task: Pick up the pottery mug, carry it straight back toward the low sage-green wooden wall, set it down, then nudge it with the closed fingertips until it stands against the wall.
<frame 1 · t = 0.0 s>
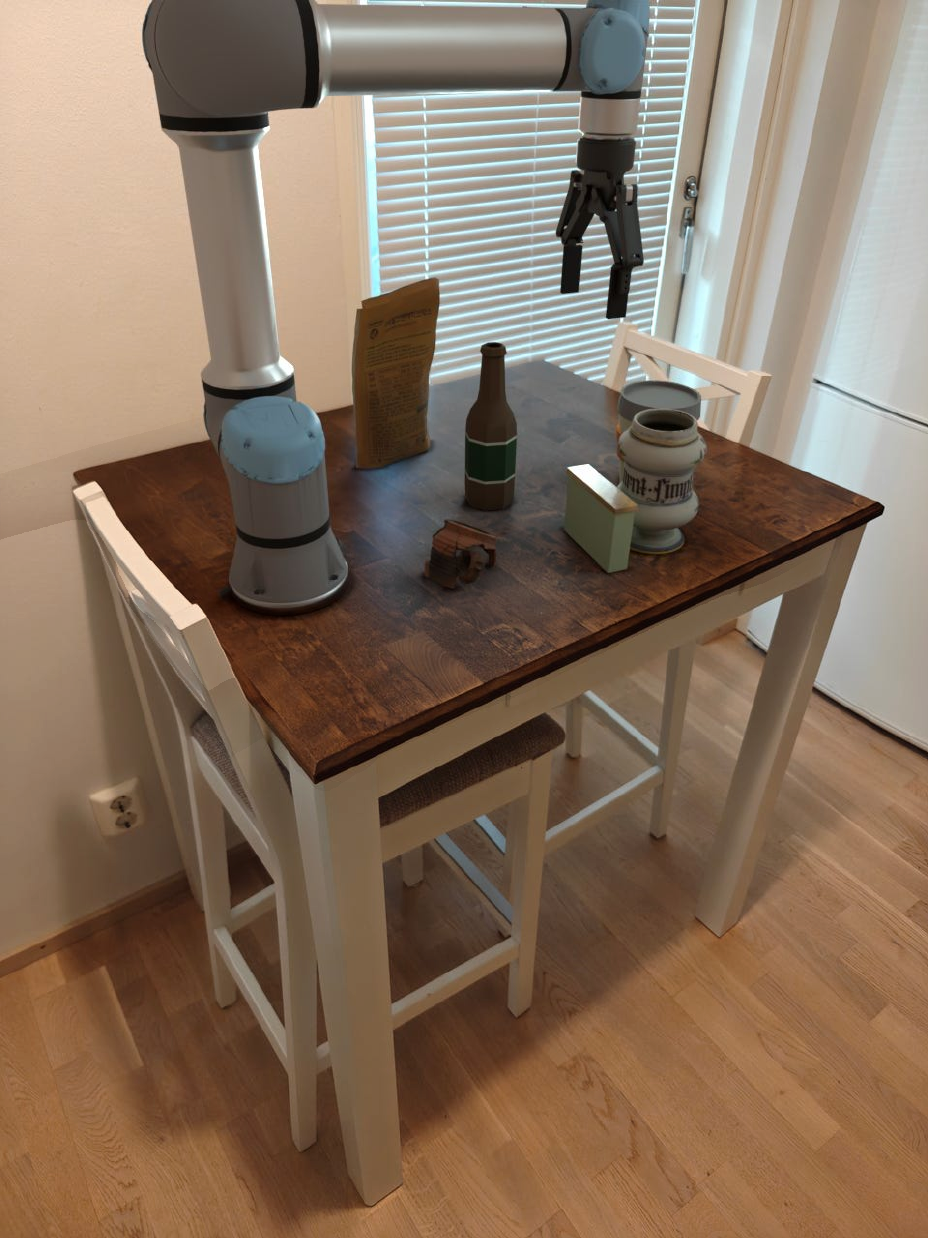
hand: (591, 304, 126), 28 cm above the table, tool pointing down, fingers open, 13 cm apart
back wall: (594, 548, 125), on the table
grey lidded canister: (647, 485, 142), on the table
pancake mix bag: (398, 457, 150), on the table
apothecary jar: (649, 538, 128), on the table
beer bottle: (488, 500, 137), on the table
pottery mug: (462, 576, 119), on the table
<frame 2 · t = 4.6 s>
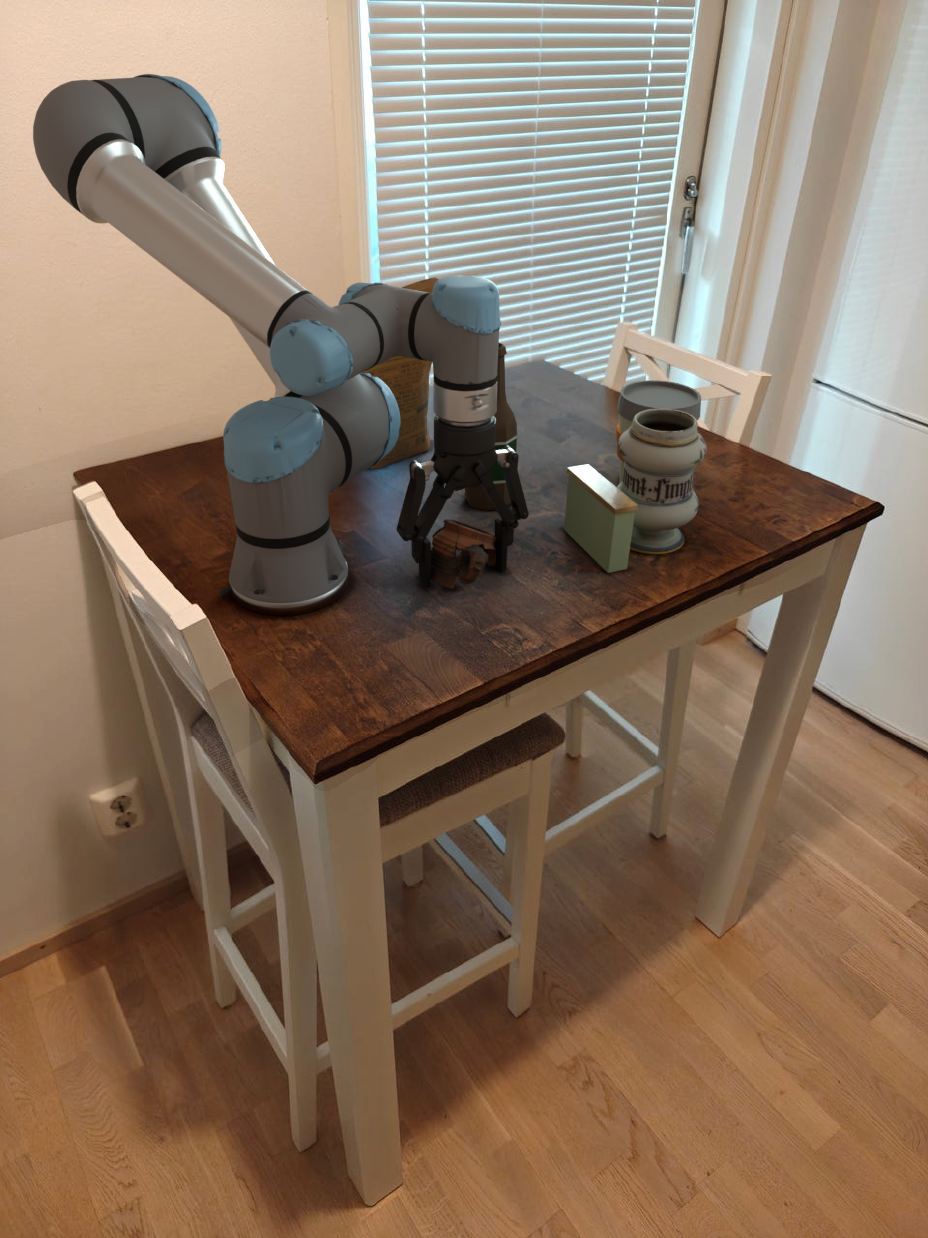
hand: (462, 573, 119), 0 cm above the table, tool pointing down, fingers closed on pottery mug, 10 cm apart
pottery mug: (462, 576, 119), on the table, touching gripper
everything else where it was.
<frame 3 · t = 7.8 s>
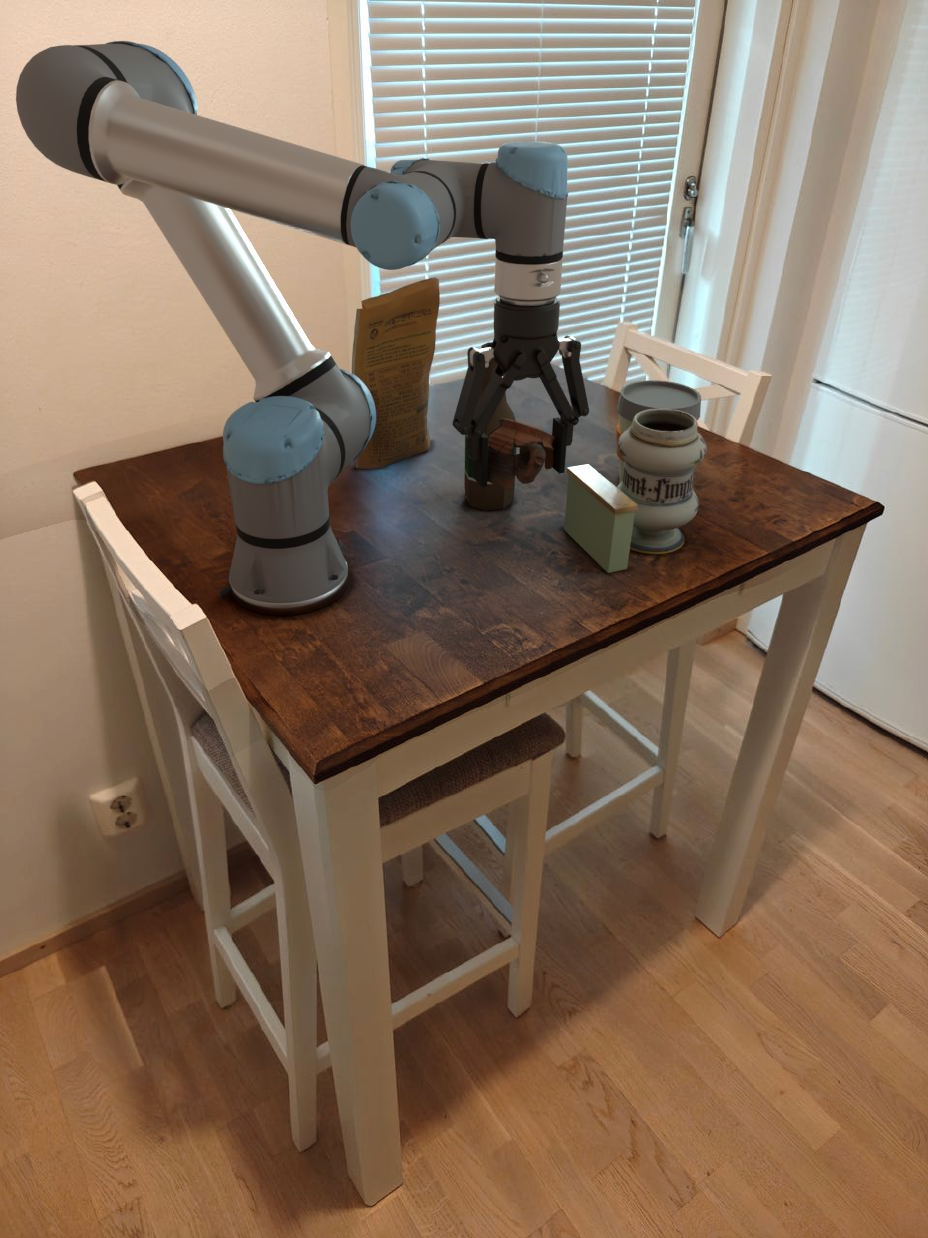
hand: (519, 475, 113), 13 cm above the table, tool pointing down, fingers closed on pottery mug, 10 cm apart
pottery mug: (518, 478, 114), point 13 cm above the table, touching gripper
everything else where it was.
when the fingers open (0 cm above the table, at t = 11.2 s): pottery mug stays where it is, on the table.
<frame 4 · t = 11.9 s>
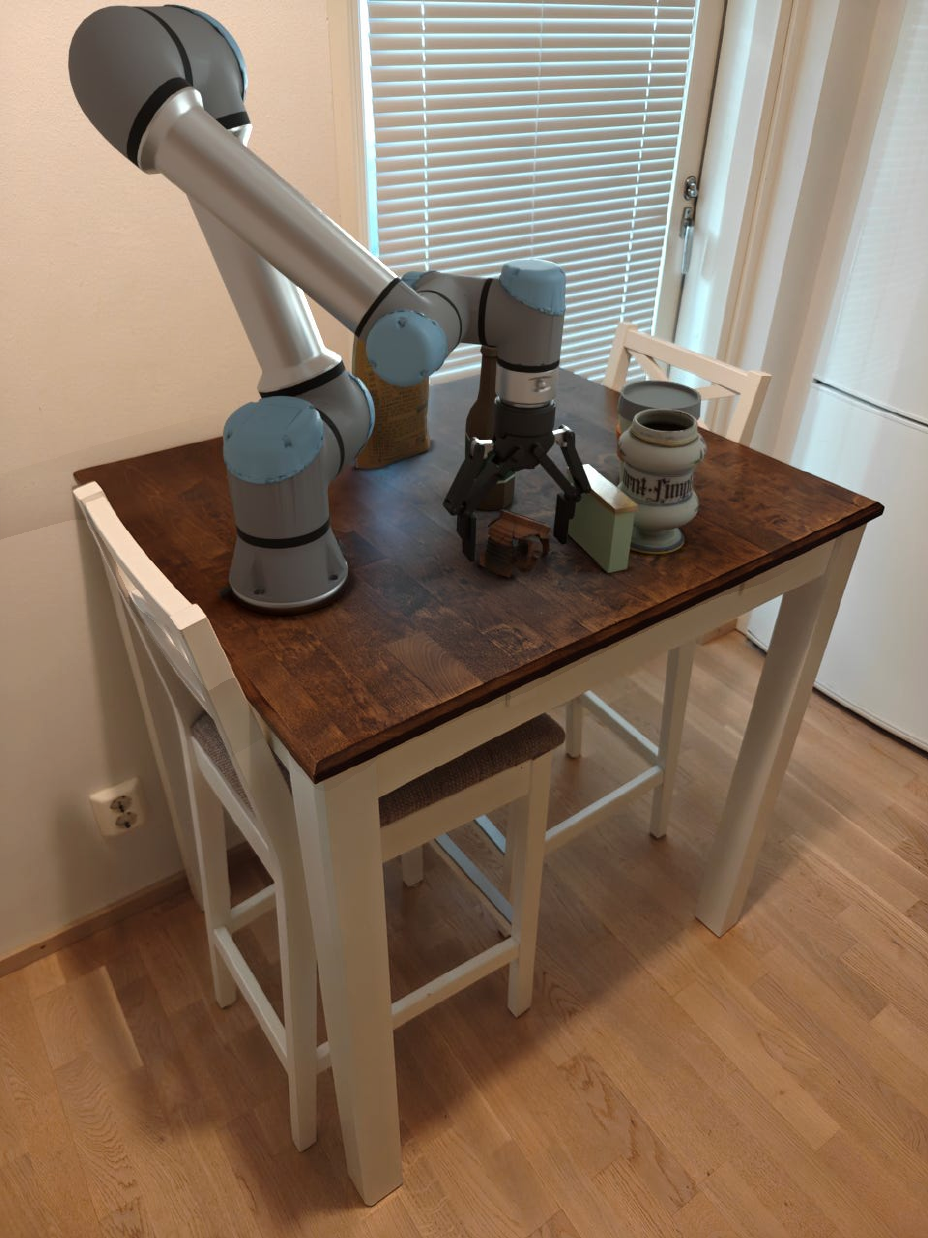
hand: (514, 548, 120), 2 cm above the table, tool pointing down, fingers open, 13 cm apart
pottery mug: (517, 565, 121), on the table
everything else where it was.
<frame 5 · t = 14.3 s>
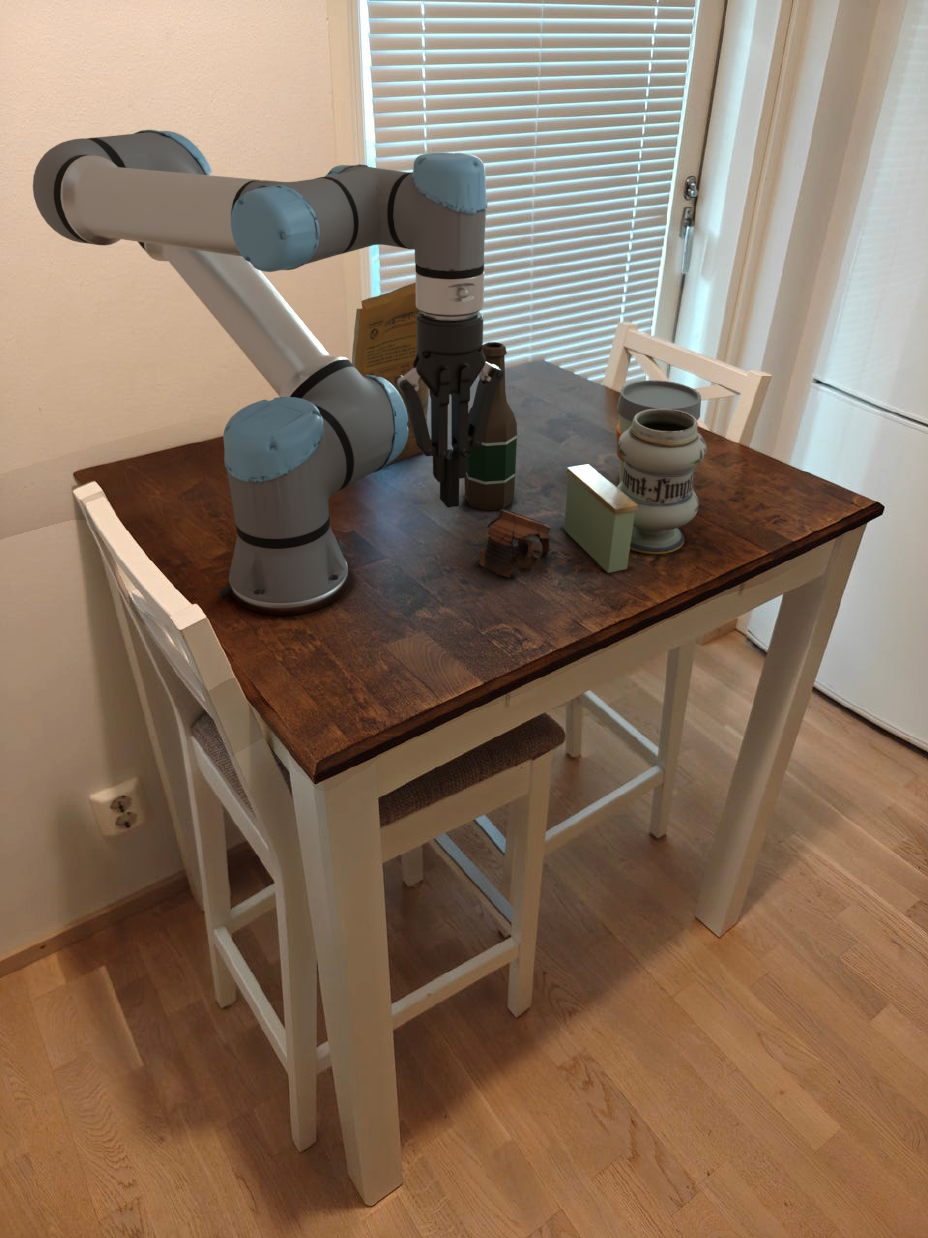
hand: (449, 501, 112), 11 cm above the table, tool pointing down, fingers closed
nothing on the table moved.
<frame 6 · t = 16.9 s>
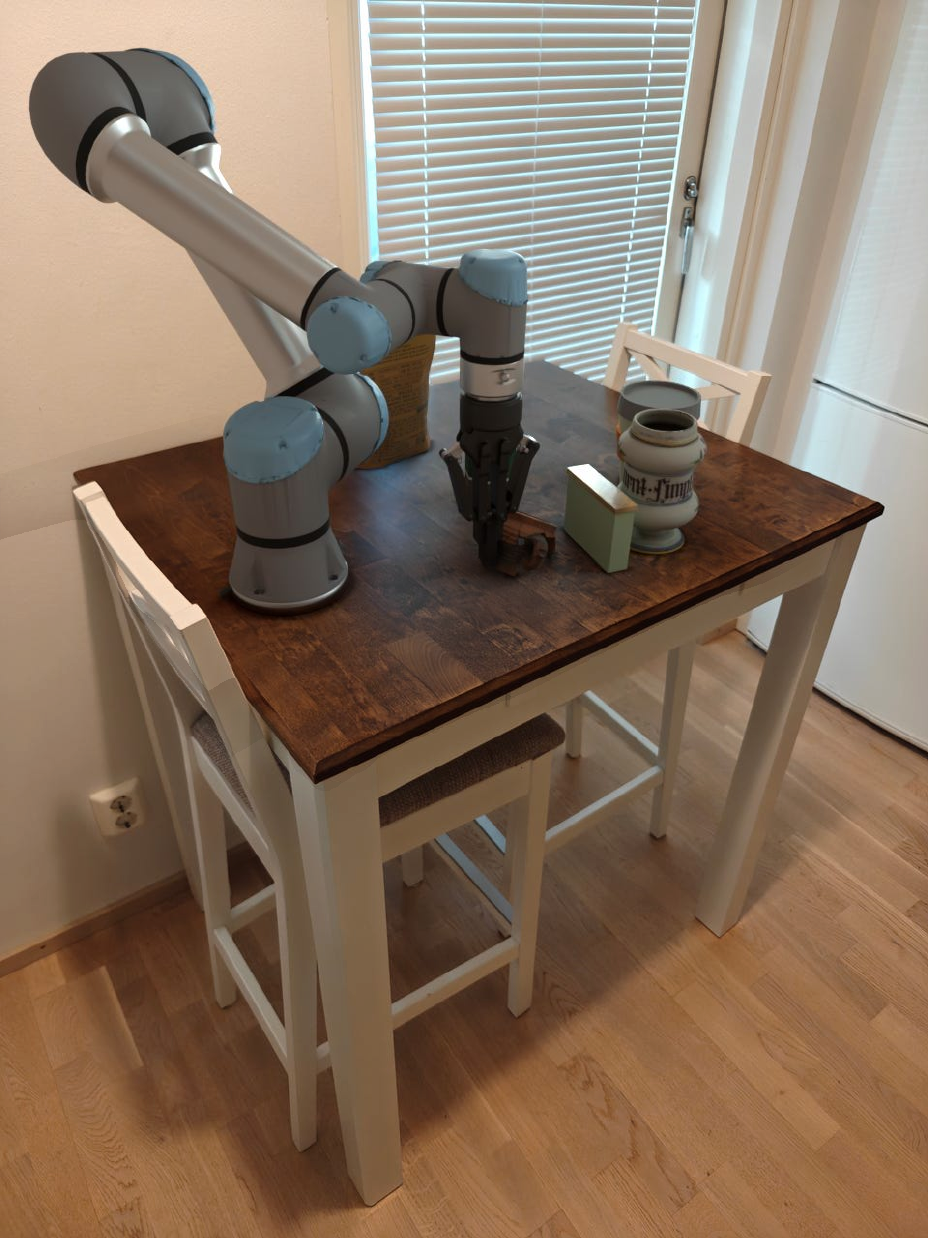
hand: (487, 561, 119), 2 cm above the table, tool pointing down, fingers closed
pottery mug: (522, 564, 122), on the table, touching gripper
everything else where it was.
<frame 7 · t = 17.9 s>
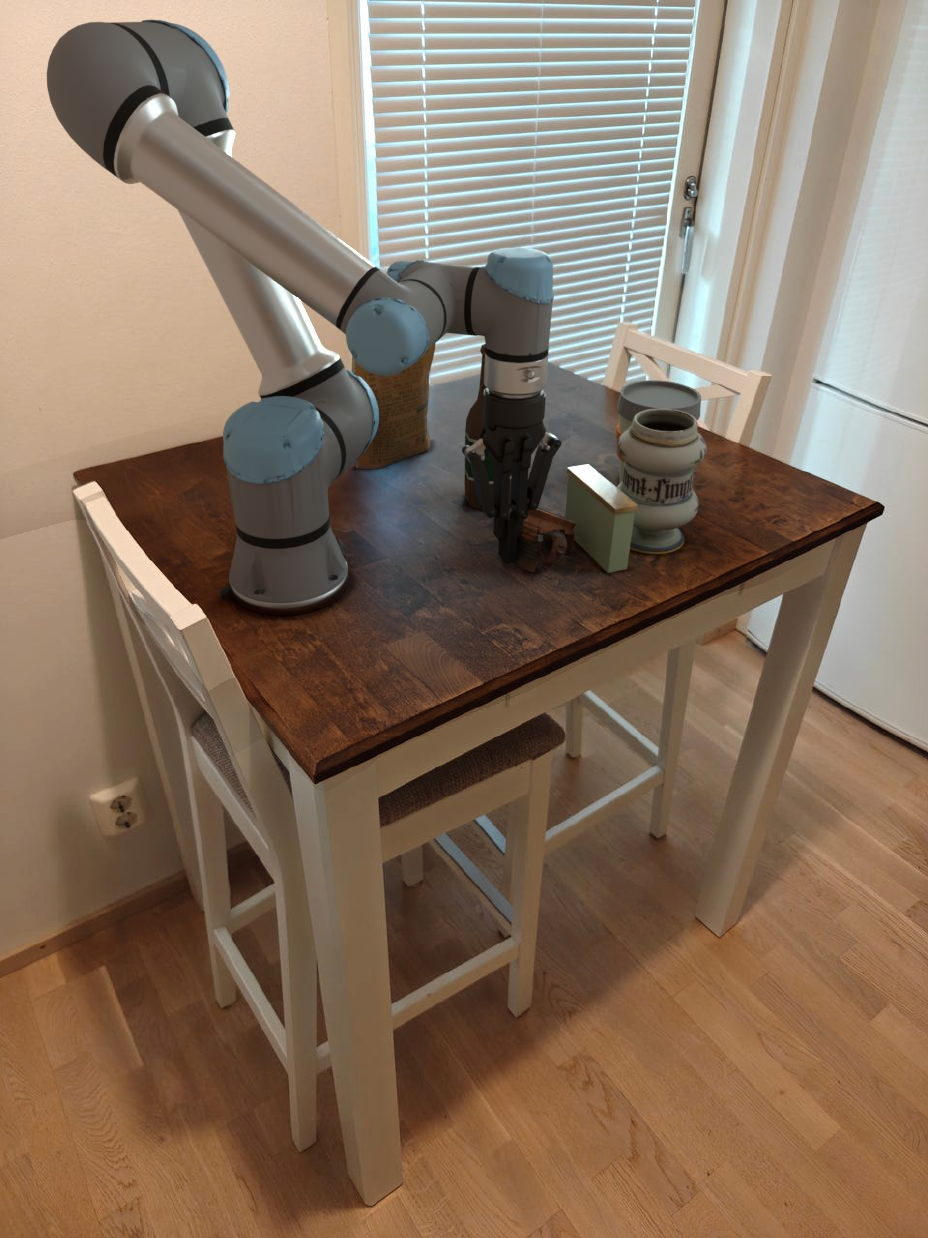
hand: (506, 557, 120), 1 cm above the table, tool pointing down, fingers closed
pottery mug: (541, 560, 123), on the table, touching gripper
everything else where it was.
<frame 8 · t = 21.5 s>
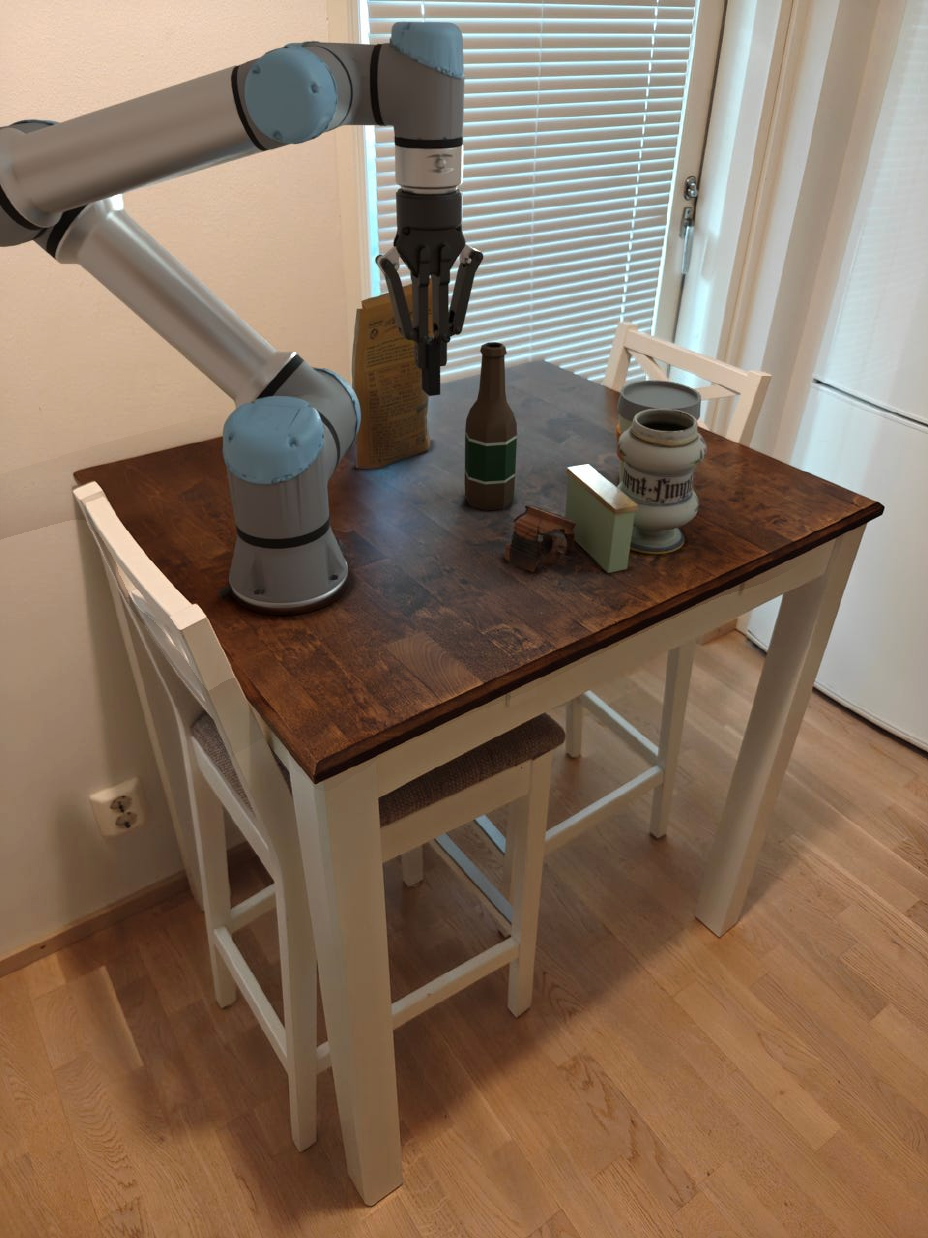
hand: (431, 391, 113), 22 cm above the table, tool pointing down, fingers closed
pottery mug: (541, 560, 123), on the table
everything else where it was.
at the end: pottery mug 1.1 cm from the target spot, on the table; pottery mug tilted 1°; the gripper is holding nothing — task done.
